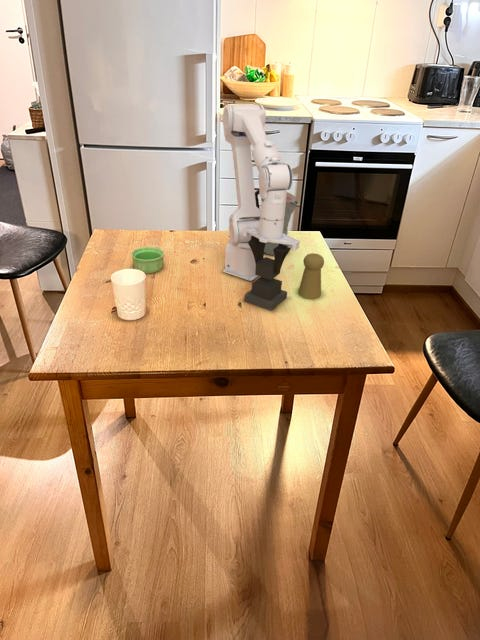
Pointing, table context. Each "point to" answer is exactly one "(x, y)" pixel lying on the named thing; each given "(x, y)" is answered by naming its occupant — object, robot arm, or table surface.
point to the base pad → (264, 302)
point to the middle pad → (266, 288)
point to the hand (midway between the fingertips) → (267, 268)
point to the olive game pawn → (311, 277)
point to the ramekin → (148, 259)
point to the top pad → (266, 268)
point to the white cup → (129, 293)
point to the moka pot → (289, 209)
